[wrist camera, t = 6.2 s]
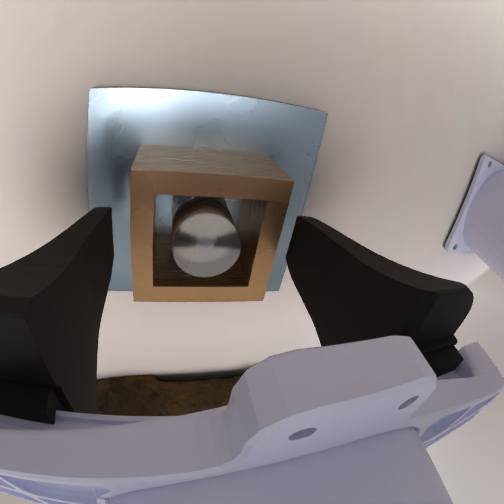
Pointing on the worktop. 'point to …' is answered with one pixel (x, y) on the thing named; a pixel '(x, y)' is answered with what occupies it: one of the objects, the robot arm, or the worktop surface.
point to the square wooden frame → (207, 185)
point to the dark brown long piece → (161, 396)
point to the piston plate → (202, 136)
